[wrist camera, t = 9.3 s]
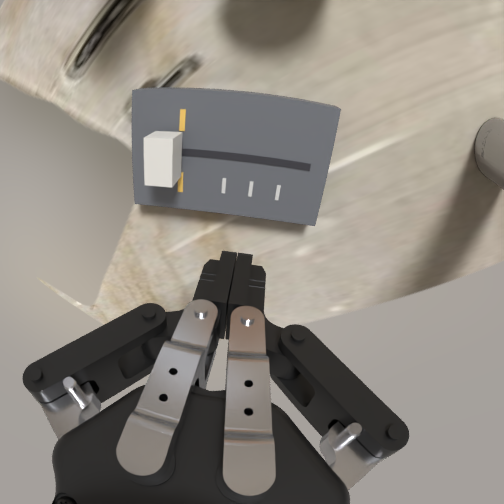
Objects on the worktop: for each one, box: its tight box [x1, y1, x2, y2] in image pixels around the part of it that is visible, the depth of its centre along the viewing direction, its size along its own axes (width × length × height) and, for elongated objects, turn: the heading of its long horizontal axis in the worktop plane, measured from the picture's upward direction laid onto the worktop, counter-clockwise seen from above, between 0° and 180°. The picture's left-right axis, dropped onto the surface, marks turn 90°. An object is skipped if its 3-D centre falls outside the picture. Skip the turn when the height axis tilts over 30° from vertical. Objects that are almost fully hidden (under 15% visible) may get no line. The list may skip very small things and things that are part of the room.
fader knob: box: [144, 131, 183, 188], centre depth 28 cm, size 3×5×4 cm, turn 173°
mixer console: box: [132, 88, 341, 226], centre depth 31 cm, size 22×14×3 cm, turn 83°
